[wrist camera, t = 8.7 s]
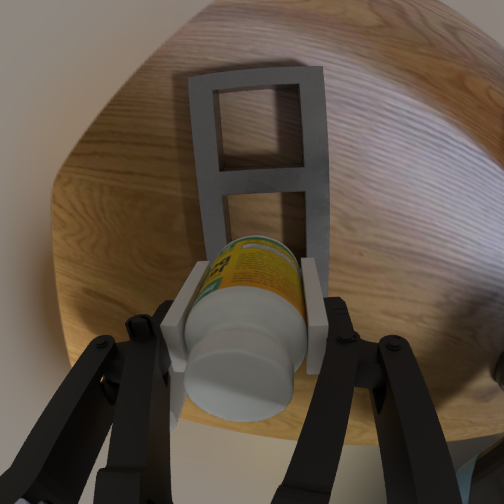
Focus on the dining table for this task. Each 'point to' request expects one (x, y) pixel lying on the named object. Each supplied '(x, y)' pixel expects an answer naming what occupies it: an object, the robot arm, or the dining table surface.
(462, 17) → the dining table surface
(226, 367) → the supplement bottle
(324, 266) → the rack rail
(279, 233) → the dining table surface
